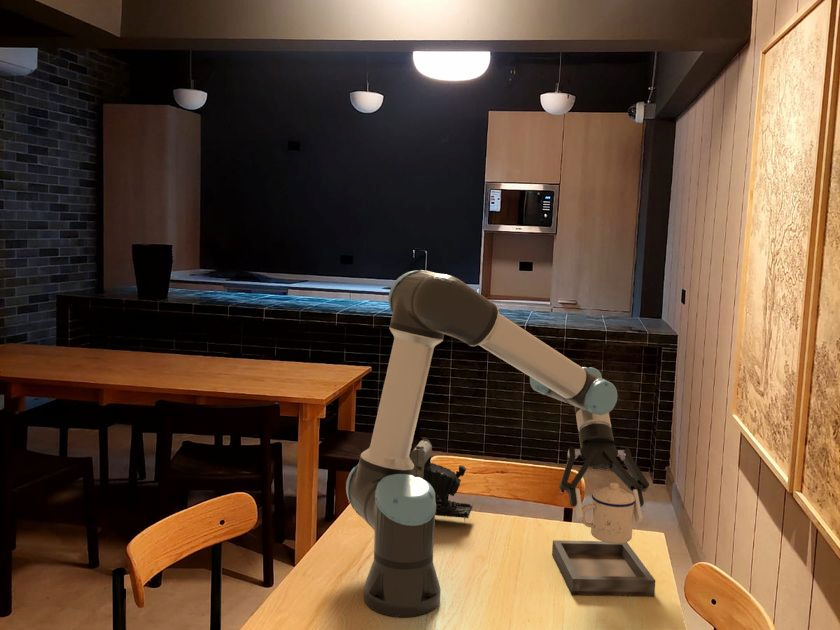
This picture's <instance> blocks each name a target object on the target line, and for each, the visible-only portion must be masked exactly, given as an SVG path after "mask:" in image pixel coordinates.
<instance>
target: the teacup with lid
mask: <svg viewBox="0 0 840 630" xmlns="http://www.w3.org/2000/svg"><path fill="white" fill-rule="evenodd" d="M631 493H632V492H630V491H627V490H625V489H623V488H621V487H620V485H619V483H617V482H610V483H609V486H608V485H607V486H605V487H602V488H597V489H595V490H593V492H592V494H591V499H592V503H589V504H586V505H584V506H582V511H583V519H582V521H581V523H582V524H583V525H584V526H585V527H588V528H590V535H592V537H594V539H596V540H598V541H603V542H607V543H615V544H620V543H626V542H627V543H628V542H630V541H631V540H632V539H633V528H634V527H633V525H634V504H635V502H636V500H635V497H634V496H633V495H632V494H631ZM590 509H591V522H588V521H586V519H585V517H586V516H585V514H586V512H587V511H588V510H590Z"/></svg>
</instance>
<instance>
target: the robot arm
mask: <svg viewBox="0 0 840 630" xmlns="http://www.w3.org/2000/svg"><path fill="white" fill-rule="evenodd" d="M388 292H389V293H388V307H389V309H390V312H391V313H392V315H391V319H390V323H389V328H388V329H389V330H390V333H391V334H392V335H393V343H392V347H391V352H390V357H389V360H388V366H387V370H386V376H385V379H384V382H383V388H382V392H381V395H380V401H379V405H378V409H377V415H376V419H375V423H374V428H373V431H372V435H371V440H370V441H371V442H370V445H369V447H368V448H367V449H365V450H363V452H361V453H360V457H359V461H358V464H357V465H356V466H353V468H352V469H351V471H350V472H349V474H348V477H347V479H346V482H345V485H346V486H345V492H346V496H347V499H348V501H349V504H350V505H351V507H352V509H353V510H354V511H355V513H356V514H357V515H359V517H361V518H362V519H363V520H364V521H365V522H366V523H367V524H368V525H369V527H371V529H373V532H374V543H373V544H374V547H373V560H372V562H371V566H370V568H369V572H368V575H367V577H366V579H365V582H364V587H363V601H364V603H365V604H366V605H367V606H368V608H369V609H371V610H372V611H375V612H376V613H378V614H379V613H380V614H382V615H385V616H391V617H397V618H398V617H399V618H407V617H409V618H411V617H417V616H422V615H425V614H427V613H430V612H432V611H434V610H435V609H437V608H438V606H439V604H440V603H441V602H440V601H441V585H440V582H439V577H438V576H437V570H436V568H435V564H434V544H435V543H434V541H435V540H434V539H435V525H436V524H435V522H436V515H435V512H436V502H435V492H434V489H433V487H432V486H431V485H430V484H429V483H428V482H427V481H426V480H424V479H422V478H420V477H414V476H413V475H412V474H413V469H414V464H413V462H412V461H411V456H410V455H411V449H412V444H413V442H414V435H415V431H416V428H417V423H418V419H419V416H420V415H419V414H420V410H421V405H422V403H423V402H422V401H423V397H424V393H425V387H426V384H427V379H428V375H429V371H430V366H431V362H432V357H433V354H434V349H435V347H436V346H437V345H439V344H441V343H442V342H443V341H444V338H445V337H444V336H445V335H446V336H449V337H452V338H455V339H457V340H459V341H461V342H463V343H465V344H466V345H468V346H469V347H476V346H480V347H481V348H483V349H484V350H486V351H487V352H489V353H490V354H492V355H494V356H496V357H497V358H499V359H500V360H503V361H504V362H506V363H507V364H508V365H511V366H512V367H514V368H515V369H516V370H518V371H520V372H522V373H524V374H525V375H526V376H529V384H530V387H531V389H532V390H533V391H535V392H538V393H539V394H541V395H544V396H547V397H550V398H553V399H555V400H557V401H561V402H564V403H566V404H569V405H571V406H573V407H574V412H575V417H576V424H577V430H578V438H579V440H578V441H579V444H580V448H578V449H577V448H575V447H574V446H570V447H569V448H568V451H567V462H566V465H565V468H564V471H563V475H562V477H561V481H560V484H559V487H558V488H559V490H561V491H566V493H567V494H568V498H569V504H570V506H571V507H574V511H575V516H576V517H575V519H576V522H577V523H582V519H583V511H582V508H583V505H582V499H581V492H580V488H577V487H578V485H579V483H580V482H581V481H582V480H583V477H584V476H585V474H586V473H587V472H588V470H589V469H590V468H592V469H593V470H597V469H601V470H609V471H610V472H612V473H614V474H615V475H616V476H617V477H618V478H619V480H621V482H622V483H624V485H625V486H626V487H627V488H628V489H629V490H630V491H631V492H630V493H631V494H632V495H633V496H634V497H635V500H636V502H635V504H634V514H633V518H634V521H635V524H636V525H637V524H640V523H641V521H642V520H643V517H644V516H643V513H642V509H641V508H642V507H643V506H644V504H645V502H644V497H643V492H644V493H645V492H647V490H648V488H649V487H650V483H649V481H648V480H647V478H646V477H645V475H644V474H643V472H642V471H641V469H640V468H639V466H638V465H637V463H636V462H635V460H634V458H633V457H632V452H631V449H630V448H629V447H625V448H624V449H617V447H616V445H615V438H614V434H613V429H612V424H611V417H610V412H611V411H613V409H614V408H615V407H616V404H617V401H618V390H617V388H616V386H615V385H614V384H613V383H612V382H610V381H608V380H607V379H605V378H603V376H602V373H601V372H600V370H598V369H597V368H595V367H591V366H590V367H586V366H581V365H579V364H577V363H576V362H574V361H572V360H571V359H569V358H568V357H567V356H565V355H564V354H562V353H560V352H559V351H558V350H556V349H555V348H553V347H551V346H550V345H548V344H546V343H545V342H544V341H542V340H541V339H539V338H538V337H536V336H534V335H533V334H532V333H530V332H528V331H527V330H525V329H524V328H522V327H521V326H519V325H518V324H517V323H515V322H513V321H512V320H510V319H508V318H507V317H506V316H504V315H502V314H501V313H500V311H499V307H498V305H496V304H495V303H493V302H492V301H490V300H489V299H488V298H486V297H485V296H484V295H482V294H481V293H480V292H478V291H477V290H475V289H474V288H472V287H471V286H470V285H469V284H467V283H466V282H464V281H462V280H461V279H459V278H458V277H455V276H454V275H451V274H447V273H446V274H445V273H438V272H433V271H429V270H423V269H420V270H412V271H407V272H405V273H403V274H402V275H401V276H399V277H398V278H397V279H396V280H395V281H394V282H393V284H392V285H391V286H390V290H389V291H388ZM578 457H580V458H581V459H582V460H583V461H584V463H583V464H582V466H581V467H580V468H579V470H578V471H577V473H576V475H575V477H574V478H573V479H572V481H571V482H568V481H569V478H570V474H571V471H572V469H573V466H574V463H575V460H577V458H578ZM617 457H619V458H620V460H621V461H622V462H623V463H624V466H625V467H626V469H625V467H623V465H621V461H619V460H618V459H617Z"/></svg>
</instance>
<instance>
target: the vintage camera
mask: <svg viewBox="0 0 840 630" xmlns="http://www.w3.org/2000/svg"><path fill="white" fill-rule="evenodd" d="M432 451H433V445H432V443H431V441H430V440H429V439H428V438H422V440H420V441H419V442H418V444H417V445H416V446H415V447H414V448H413V450H412V452H410V459H411V461H412V462H413V464H414V469H413V474H412V475H413V476H414V477H420V478H422V479H424V480H426V481H427V482H428V483H429V484H430V485H431V486H432V487H433V489H434V492H435V502H436V512H435V516H437V517H447V518H448V517H450V518H460V519H461V518H463V520H464V521H466V519H469V518H470V514H471V512H472V511H473V510H472V509H473V507H474V506H473V505H471V503H467V502H466V503H465V502H464V503H463V502H456V501H455V500H454V501H451V500H449V496H451V497H454V496H455V495H456V494H457V492H458V490H459V488H460V485H461V481H462V479H460V477H463V476H465V473H466V471H467V468H466V467H465V466H464V465H459V467H458V470H457V471H452V470H451V469H450V468H448V467H444V466H442V465H440V464H436V463H433V462H432V461H431V460H432Z"/></svg>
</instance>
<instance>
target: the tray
mask: <svg viewBox="0 0 840 630" xmlns="http://www.w3.org/2000/svg"><path fill="white" fill-rule="evenodd" d="M551 551H552V552H551V556H552V558H553V560H554V562H555V564H556V566H557V568H558V570H559V573H560V575H561V576H562V579H563V581H564V582H565V583H564V584H566V587H567V589H568V591H569V593H570V594H571V596H578V597H579V596H582V597H583V596H585V597H587V596H588V597H634V598H635V597H638V598H639V597H641V598H643V597H645V598H646V597H647V598H654V597H655V592H656V579H655V578H654V577H653V575H652V574H651V572H650V571H649V570H648V568H647V567H646V566H645V564H644V563H643V562H642V561H641V559H640V558H639V556H638V555H637V553H636V552H635V551H634V549H633V548H632V547H631V546H630V544H629V543H628V542H626V543H620V544H615V543H607V542H603V541H600V540H598V541H597V540H595V541H594V540H593V541H592V540H559V539H558V540H557V539H555V540H554V539H553V540H552V549H551Z"/></svg>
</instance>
